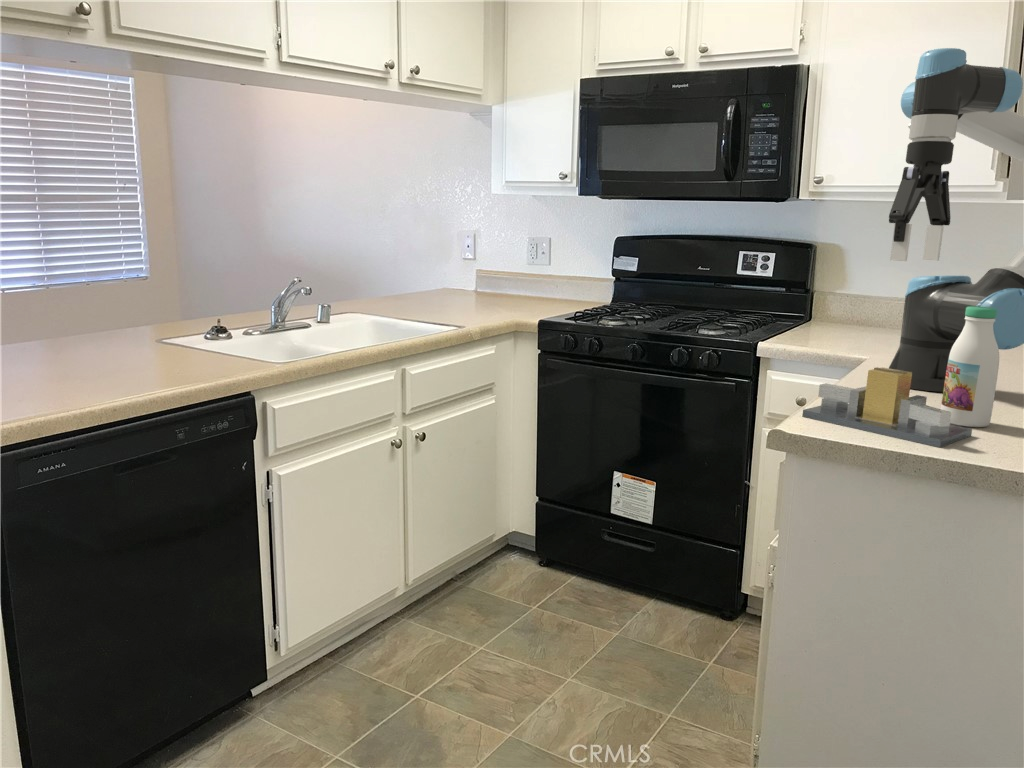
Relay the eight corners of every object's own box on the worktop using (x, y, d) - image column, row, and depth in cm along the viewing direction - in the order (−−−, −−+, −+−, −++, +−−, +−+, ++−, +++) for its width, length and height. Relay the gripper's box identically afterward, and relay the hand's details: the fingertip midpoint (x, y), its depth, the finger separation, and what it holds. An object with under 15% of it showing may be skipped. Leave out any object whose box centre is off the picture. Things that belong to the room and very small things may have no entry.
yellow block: (905, 419, 138) (912, 371, 136) (892, 423, 134) (898, 374, 133) (876, 413, 141) (882, 366, 140) (862, 417, 138) (868, 369, 136)
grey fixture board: (836, 407, 150) (840, 377, 149) (971, 436, 133) (976, 402, 132) (801, 416, 143) (805, 384, 141) (939, 447, 126) (945, 411, 124)
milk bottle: (972, 417, 146) (990, 305, 142) (999, 429, 139) (1018, 310, 135) (930, 416, 146) (946, 304, 142) (954, 427, 138) (972, 309, 134)
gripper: (938, 147, 159) (923, 258, 163) (878, 136, 143) (863, 259, 147) (980, 146, 154) (963, 261, 158) (922, 134, 137) (905, 262, 142)
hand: (915, 260), depth 153 cm, fingers open, 13 cm apart
